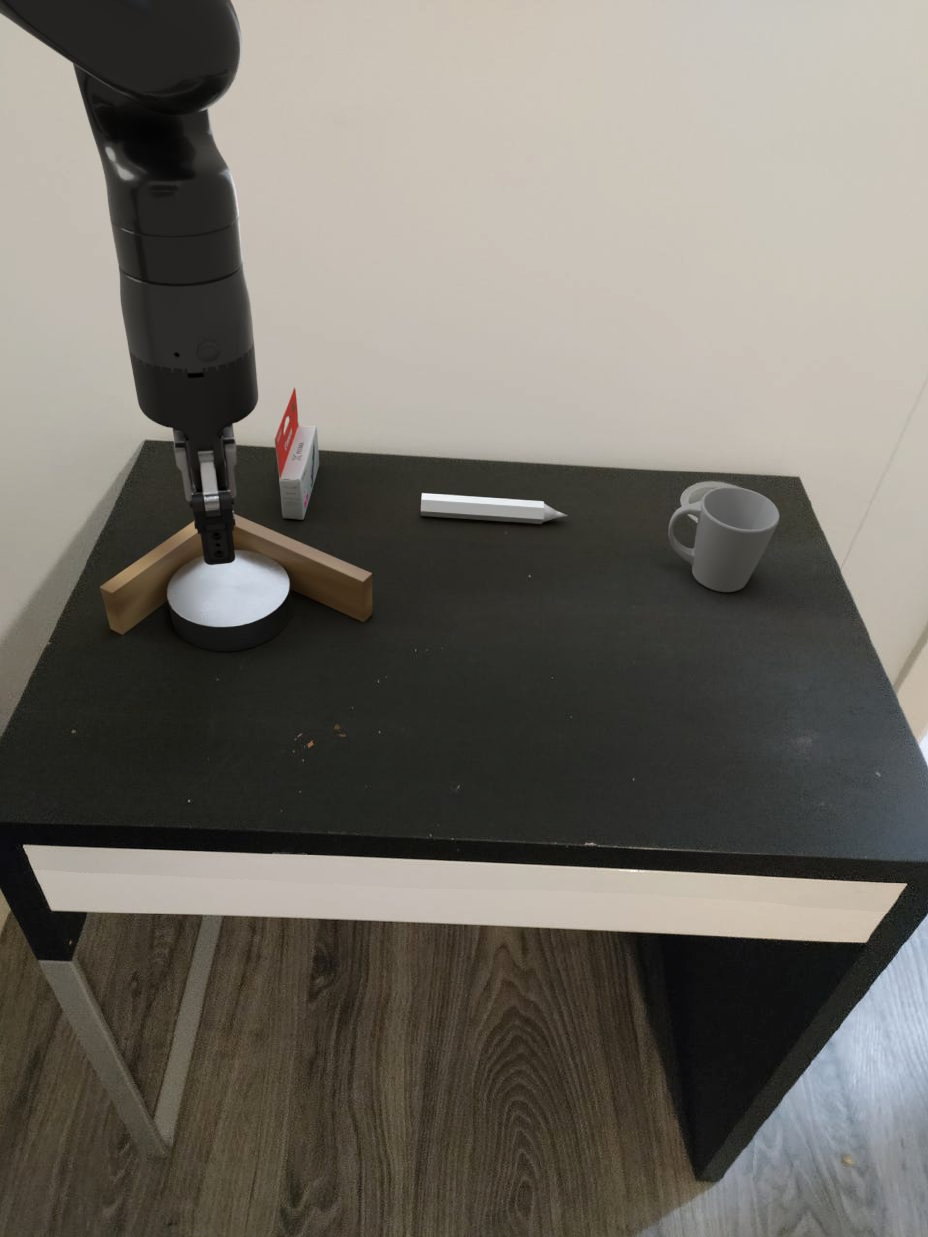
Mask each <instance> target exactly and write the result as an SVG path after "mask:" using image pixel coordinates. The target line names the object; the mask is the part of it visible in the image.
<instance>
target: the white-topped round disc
mask: <svg viewBox="0 0 928 1237" xmlns="http://www.w3.org/2000/svg"><path fill="white" fill-rule="evenodd" d="M234 551H235V560H234V561H233V562H232V563H226V564H217V565H208V564H206V563H205V561H204V555H203V556H200V557H198V558H195V559H193V560H191V561H190V562H188V563H186V564H185V565H183V566H182V567H181V568H180V569H179V570H178V571H177V572H176V573H175V574H174V575H173V577H172V578H171V580H170V582H169V584H168V588H167V598H168V601H167V603H168V609H169V614H170V618H171V623H172V625H173V628H174V630H175V632H176V633H177V634H178V635H179V636H180V638H182V639H183V640H184V641H185V642H187V643H189V644H190V645H192V646H195V647H197V648H200V649H204V650H209V651H213V652H236V651H237V652H238V651H243V650H247V649H251V648H256V647H257V646H260V645H262V644H264V643H266V642H268V641H270V640H272V639H273V638H275V637H276V636H277V635H279V634H280V633H281V632H282V631H283V630H284V629H285V627H286V626H287V624H288V622H289V621H290V619H291V616H292V612H293V611H292V610H293V608H292V607H293V606H292V595H291V594H292V593H291V592H292V591H291V589H290V580H289V577H288V574H287V572H286V571H285V569H284V568H283V567H282V566H281V565H280V564H279V563H278V562H276V561H275V560H274V559H272V558H270V557H268V556H265V555H263V554H260V553H256V552H252V551H245V550H234Z"/></svg>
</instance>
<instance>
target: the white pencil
mask: <svg viewBox="0 0 928 1237" xmlns="http://www.w3.org/2000/svg"><path fill="white" fill-rule="evenodd" d="M420 516H421V517H431V518H432V517H434V518H446V519H447V518H448V519H449V518H450V519H464V520H477V521H478V520H479V521H490V522H491V521H494V522H507V523H521V524H535V525H537V524H538V525H542V524H543V523H545V522H549V521H552V520H553V519H554V520H555V519H561V518H564V517H568V516H569V515H568V514H565V513H563V512H560V511H558V510H556V509H554V508H552V507H551V506H549V505H548V504H546V503H545V501H542V500H528V499H514V498H502V497H501V498H500V497H486V496H484V497H483V496H472V495H471V496H469V495H457V494H443V493H441V494H440V493H427V492H421V499H420Z"/></svg>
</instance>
